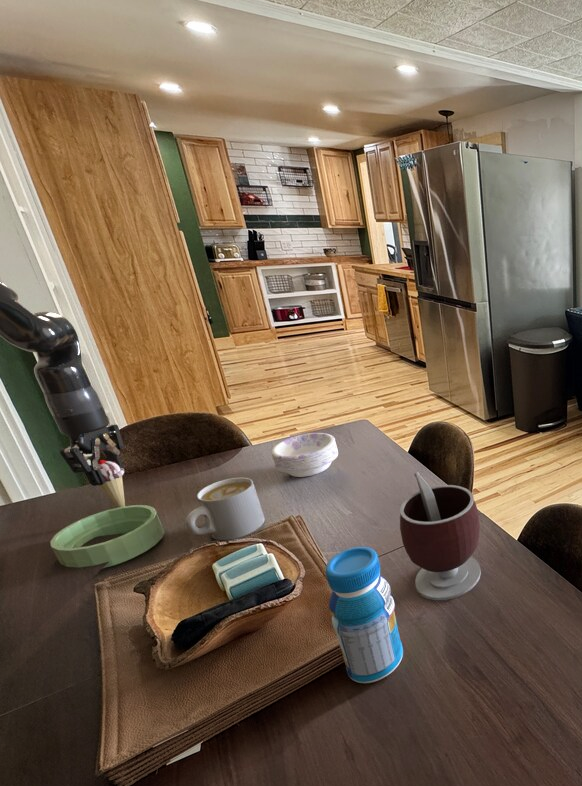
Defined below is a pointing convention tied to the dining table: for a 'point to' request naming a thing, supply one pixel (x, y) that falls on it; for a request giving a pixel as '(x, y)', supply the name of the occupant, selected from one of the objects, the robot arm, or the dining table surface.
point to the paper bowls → (305, 454)
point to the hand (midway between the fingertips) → (108, 477)
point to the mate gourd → (441, 539)
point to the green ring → (127, 519)
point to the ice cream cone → (112, 481)
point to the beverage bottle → (363, 615)
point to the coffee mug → (227, 509)
